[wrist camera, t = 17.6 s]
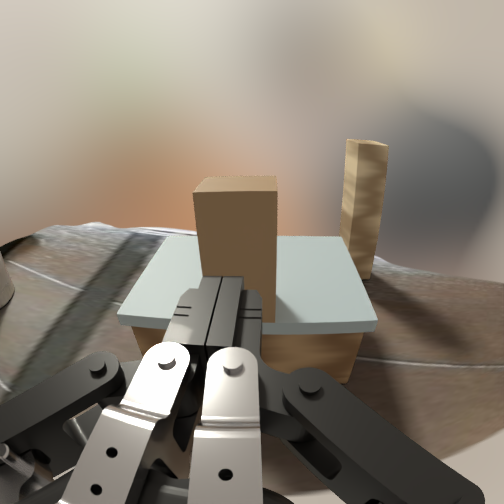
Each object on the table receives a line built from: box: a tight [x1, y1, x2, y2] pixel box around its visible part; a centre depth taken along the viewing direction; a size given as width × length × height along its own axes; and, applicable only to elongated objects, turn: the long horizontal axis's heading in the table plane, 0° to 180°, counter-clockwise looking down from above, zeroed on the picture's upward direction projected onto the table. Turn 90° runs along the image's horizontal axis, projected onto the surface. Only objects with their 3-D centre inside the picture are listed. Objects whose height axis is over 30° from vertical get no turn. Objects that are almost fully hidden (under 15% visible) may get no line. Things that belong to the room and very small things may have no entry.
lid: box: [117, 176, 378, 335], centre depth 21 cm, size 17×12×9 cm
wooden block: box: [339, 139, 389, 280], centre depth 31 cm, size 4×4×16 cm
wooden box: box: [131, 326, 364, 384], centre depth 28 cm, size 16×18×6 cm
